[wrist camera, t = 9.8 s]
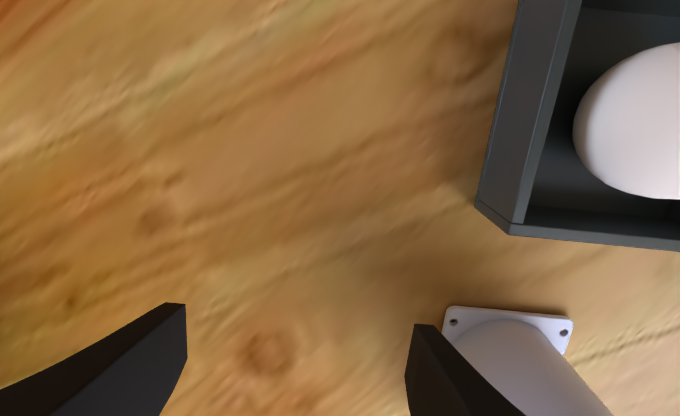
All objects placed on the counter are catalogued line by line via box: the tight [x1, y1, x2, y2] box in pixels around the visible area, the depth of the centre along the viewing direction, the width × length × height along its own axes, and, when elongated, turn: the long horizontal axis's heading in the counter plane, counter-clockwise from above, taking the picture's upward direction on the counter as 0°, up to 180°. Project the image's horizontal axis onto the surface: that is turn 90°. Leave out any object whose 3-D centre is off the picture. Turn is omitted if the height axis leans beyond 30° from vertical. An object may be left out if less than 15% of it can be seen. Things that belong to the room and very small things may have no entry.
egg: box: [572, 42, 680, 199], centre depth 15 cm, size 6×6×8 cm
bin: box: [474, 0, 680, 252], centre depth 17 cm, size 11×11×4 cm
